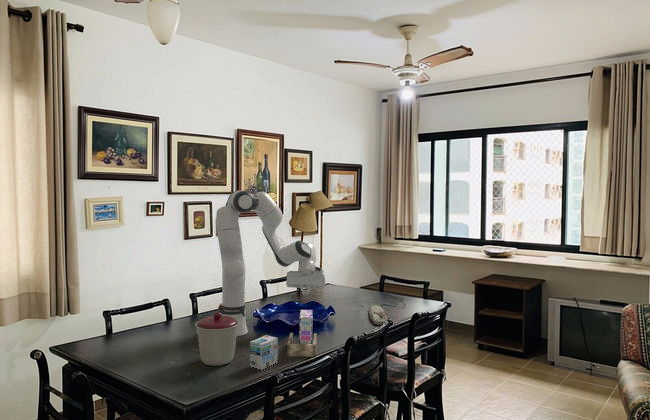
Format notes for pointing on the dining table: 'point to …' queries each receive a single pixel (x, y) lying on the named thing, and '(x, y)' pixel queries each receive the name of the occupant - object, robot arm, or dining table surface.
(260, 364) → the light bulb box
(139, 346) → the dining table surface
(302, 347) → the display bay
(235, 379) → the dining table surface
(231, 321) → the canister
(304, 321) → the candy box
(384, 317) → the elongated rock
